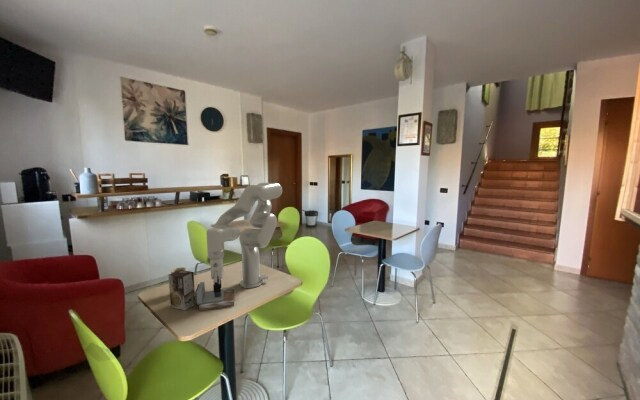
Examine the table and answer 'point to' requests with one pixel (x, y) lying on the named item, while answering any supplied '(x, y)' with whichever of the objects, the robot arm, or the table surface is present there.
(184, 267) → the character mug
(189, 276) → the coffee box
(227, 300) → the press bed
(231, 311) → the table surface
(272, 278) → the table surface
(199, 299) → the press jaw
